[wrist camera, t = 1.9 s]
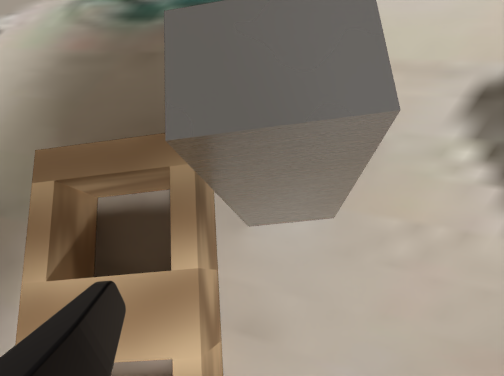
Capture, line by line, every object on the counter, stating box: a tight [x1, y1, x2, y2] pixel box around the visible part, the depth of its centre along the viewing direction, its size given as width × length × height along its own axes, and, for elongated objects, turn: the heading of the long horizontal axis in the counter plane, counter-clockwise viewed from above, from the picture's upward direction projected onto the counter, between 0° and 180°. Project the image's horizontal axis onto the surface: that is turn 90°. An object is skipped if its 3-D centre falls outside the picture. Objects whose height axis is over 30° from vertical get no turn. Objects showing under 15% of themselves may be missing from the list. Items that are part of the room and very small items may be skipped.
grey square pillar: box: [164, 0, 400, 226], centre depth 14 cm, size 4×5×13 cm
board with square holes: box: [15, 133, 223, 376], centre depth 17 cm, size 18×9×4 cm, turn 5°
